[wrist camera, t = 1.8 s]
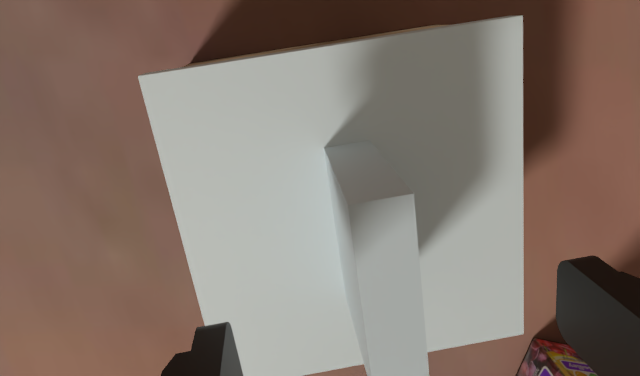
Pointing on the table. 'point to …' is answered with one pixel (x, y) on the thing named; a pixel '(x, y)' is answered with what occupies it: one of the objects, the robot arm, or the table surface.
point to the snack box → (553, 361)
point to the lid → (352, 195)
